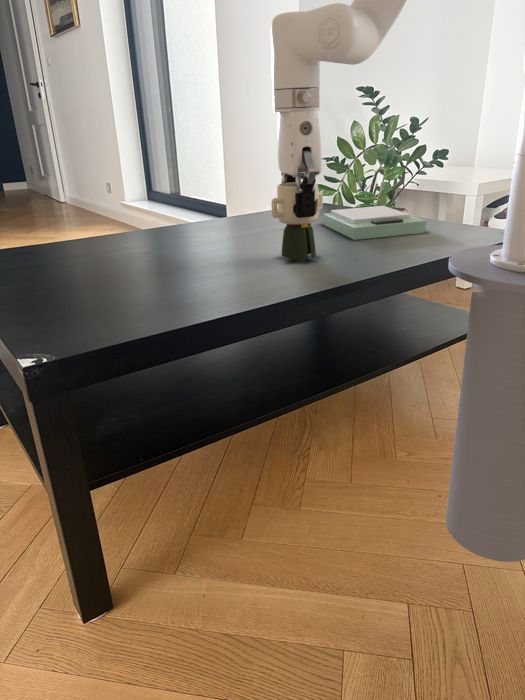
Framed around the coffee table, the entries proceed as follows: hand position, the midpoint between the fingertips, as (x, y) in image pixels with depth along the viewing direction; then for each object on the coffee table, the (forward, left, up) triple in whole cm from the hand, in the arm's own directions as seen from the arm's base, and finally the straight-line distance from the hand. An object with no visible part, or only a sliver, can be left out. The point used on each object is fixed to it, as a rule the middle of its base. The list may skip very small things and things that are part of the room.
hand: (298, 212), depth 96 cm
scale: (+19, -23, -8) cm, 31 cm away
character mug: (0, 0, -8) cm, 8 cm away
